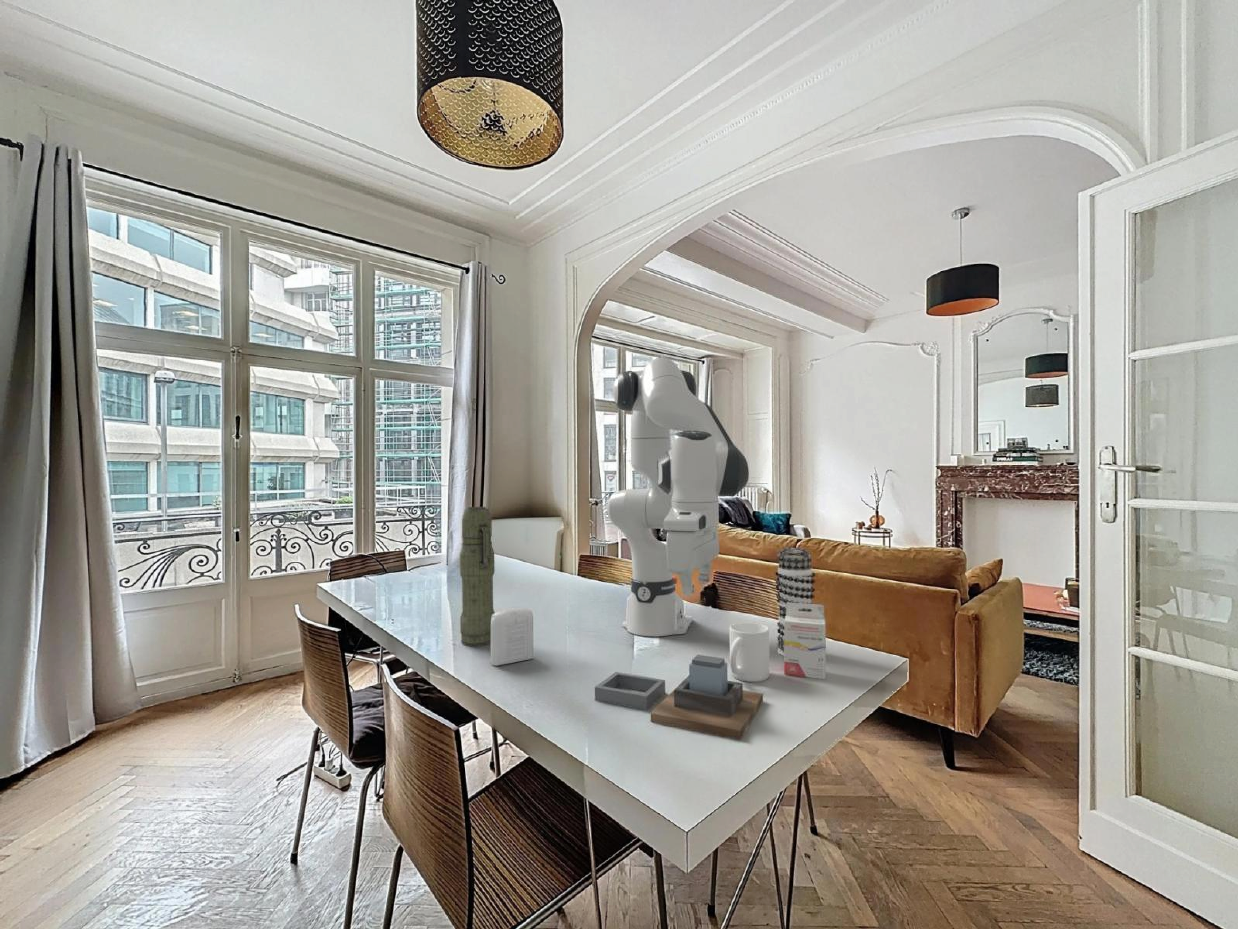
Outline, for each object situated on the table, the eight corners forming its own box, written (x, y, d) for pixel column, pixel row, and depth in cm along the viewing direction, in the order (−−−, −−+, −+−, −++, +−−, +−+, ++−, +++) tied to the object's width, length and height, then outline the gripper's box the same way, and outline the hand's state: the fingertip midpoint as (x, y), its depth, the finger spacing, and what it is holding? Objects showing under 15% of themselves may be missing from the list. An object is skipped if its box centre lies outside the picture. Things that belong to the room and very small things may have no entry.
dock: (683, 687, 116) (683, 665, 116) (763, 701, 108) (762, 677, 108) (650, 721, 100) (650, 696, 100) (740, 739, 93) (739, 712, 93)
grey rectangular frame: (615, 684, 118) (615, 671, 118) (665, 692, 113) (664, 680, 113) (594, 700, 110) (594, 687, 110) (646, 710, 105) (646, 696, 105)
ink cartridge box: (784, 675, 122) (783, 606, 122) (785, 667, 126) (784, 601, 126) (826, 680, 119) (825, 609, 119) (826, 671, 124) (825, 604, 124)
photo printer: (528, 654, 138) (528, 603, 138) (536, 659, 134) (535, 606, 134) (488, 662, 132) (487, 609, 132) (494, 668, 128) (494, 613, 128)
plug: (696, 696, 108) (696, 653, 108) (727, 701, 105) (727, 658, 105) (689, 704, 104) (689, 660, 104) (721, 709, 101) (721, 665, 101)
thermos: (480, 632, 156) (479, 505, 157) (505, 641, 148) (503, 507, 148) (451, 639, 150) (449, 507, 150) (475, 649, 142) (473, 509, 142)
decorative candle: (816, 661, 130) (815, 552, 130) (774, 657, 133) (773, 550, 133) (816, 649, 139) (815, 547, 139) (777, 645, 142) (775, 545, 142)
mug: (749, 691, 113) (748, 639, 113) (713, 681, 119) (712, 632, 119) (776, 674, 122) (775, 626, 122) (742, 666, 128) (741, 620, 128)
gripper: (696, 510, 118) (697, 576, 118) (659, 521, 100) (661, 600, 100) (726, 511, 115) (727, 579, 116) (694, 523, 97) (695, 603, 97)
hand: (696, 589), depth 108 cm, fingers open, 8 cm apart
